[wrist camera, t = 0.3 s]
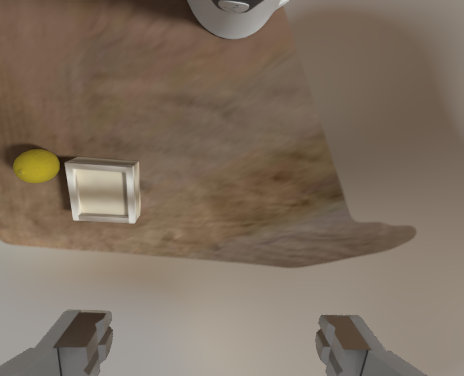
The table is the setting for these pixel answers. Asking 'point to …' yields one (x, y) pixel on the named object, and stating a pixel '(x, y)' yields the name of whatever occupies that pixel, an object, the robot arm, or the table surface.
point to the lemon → (36, 166)
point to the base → (104, 189)
